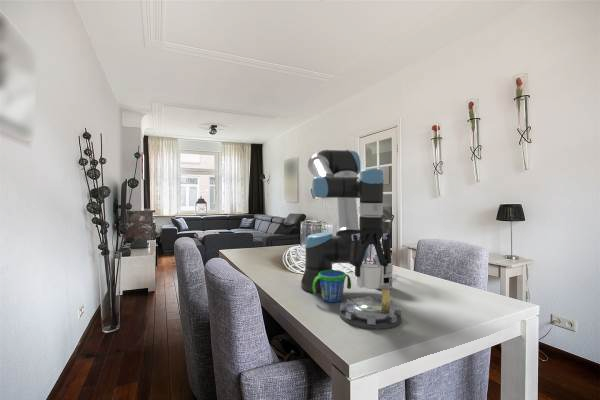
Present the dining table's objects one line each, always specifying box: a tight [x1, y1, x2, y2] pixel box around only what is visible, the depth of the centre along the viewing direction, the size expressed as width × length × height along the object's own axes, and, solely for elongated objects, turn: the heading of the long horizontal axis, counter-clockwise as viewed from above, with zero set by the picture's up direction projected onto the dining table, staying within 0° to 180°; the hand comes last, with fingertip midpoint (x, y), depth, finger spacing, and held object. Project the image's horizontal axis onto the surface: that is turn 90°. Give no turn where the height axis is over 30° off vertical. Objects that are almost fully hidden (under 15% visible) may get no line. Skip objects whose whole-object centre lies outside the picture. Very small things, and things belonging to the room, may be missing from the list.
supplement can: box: [372, 251, 394, 291], centre depth 130 cm, size 8×8×15 cm
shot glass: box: [361, 262, 381, 290], centre depth 99 cm, size 7×7×7 cm
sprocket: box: [339, 289, 402, 325], centre depth 99 cm, size 20×20×9 cm
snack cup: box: [312, 269, 352, 303], centre depth 114 cm, size 16×10×10 cm
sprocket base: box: [338, 310, 403, 331], centre depth 99 cm, size 20×20×1 cm
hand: (370, 285), depth 99 cm, fingers closed on shot glass, 7 cm apart
